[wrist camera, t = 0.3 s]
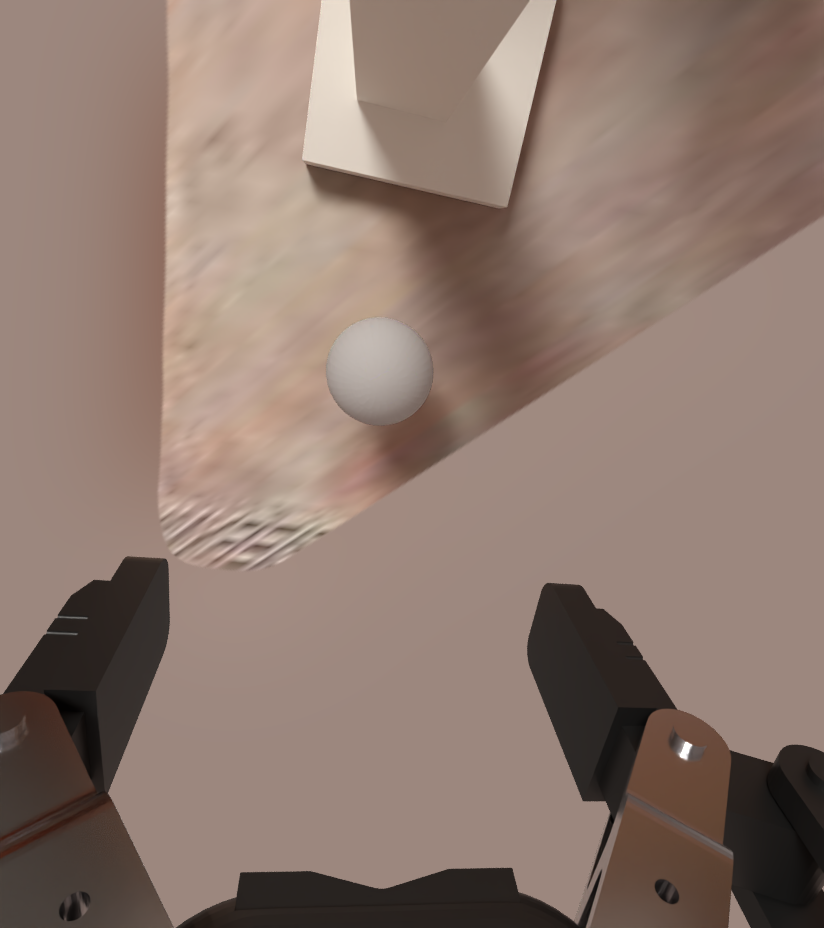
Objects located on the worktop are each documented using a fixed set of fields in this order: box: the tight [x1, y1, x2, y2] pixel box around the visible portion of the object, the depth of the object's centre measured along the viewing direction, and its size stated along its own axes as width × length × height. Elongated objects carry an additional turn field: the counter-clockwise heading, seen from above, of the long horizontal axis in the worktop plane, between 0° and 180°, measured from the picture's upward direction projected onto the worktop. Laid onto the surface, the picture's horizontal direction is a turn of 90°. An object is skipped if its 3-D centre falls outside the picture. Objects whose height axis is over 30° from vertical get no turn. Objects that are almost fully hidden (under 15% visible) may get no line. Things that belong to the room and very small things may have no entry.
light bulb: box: [326, 317, 433, 426], centre depth 34 cm, size 6×6×10 cm
